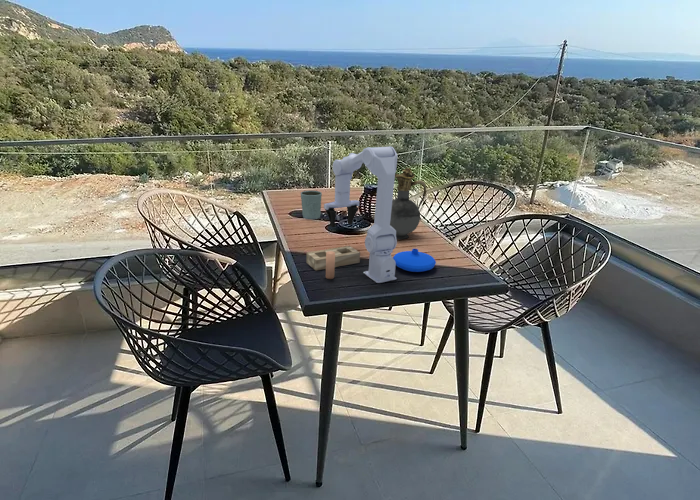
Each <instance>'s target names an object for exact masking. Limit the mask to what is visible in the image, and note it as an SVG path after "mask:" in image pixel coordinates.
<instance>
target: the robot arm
mask: <svg viewBox="0 0 700 500" xmlns="http://www.w3.org/2000/svg"><path fill="white" fill-rule="evenodd" d="M398 158H399V157H398V153H397V151H396V149H395V148H394V147H393V146H391V145H389V146H375V147H374V146H373V147H370V146H368V147H365V148H363V149H362V151H361V152H359V153H354V152H349V153H348V155H347V156H343V157H342V159H335V160H334V161H333V163H332V172H333V174H334V181H335V182H334V201H332V202H330V201H329V202H327V203H323V209H324V211H325V212H326V215H327V216H328V221H329V223H330V227H331V228H335V226H336V215H337V210H335V209H340V208H346V211H347V224H348V225H350V226H352V225H353V222H354V218H355V216H356V214H357V212H358V211H359V207H360V200H358V199H357V200H356V199H355V200H352V199H351V200H350V198H351V197H350V196H351V180H352V179H353V174H354V172H355V171H357V170H359V169H361V167H362V165H363V164H364V165H365V167H366V168H367V169H368V170H369V172H370V173H371V174H372V175H373V176H376V177H377V185H376V186H377V187H376V198H375V208H374V209H375V210H374V219H373V220H374V223H373V224H372V225H371V226H370V227H369V228H368V229H367V231H366V233H367V234H366V236H365V239H364V247H365V249H366V250H367V252H368V253H369V256H368V257H369V259H368V270H365V271H363V275H365V276H367V277H368V278H369V279H371V280H372V281H373V282H374V283H377V284H381V283H385V282H390V281H395V280H397V277H396V267H397V266H396V262H395V260H394V259H393V256H392V253H393V252H394V251H393V250H394V249H396V247H397V245H398V239H396V230H395V229H394V228H393V227H392V226H390V219H391V209H392V200H394V199H393V198H394V189H395V188H394V187H395V179H396V178H395V174H397V173H396V172H397V165H398Z"/></svg>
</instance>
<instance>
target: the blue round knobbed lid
mask: <svg viewBox="0 0 700 500" xmlns="http://www.w3.org/2000/svg"><path fill="white" fill-rule="evenodd" d="M392 258H393V259H394V260H395V262H396V266H395V267H397V268H400V269H402V270H403V271H406V272H413V273H421V272H422V273H423V272H427V271H430V270H433V268H435V266H436V263H437V261H436V259H435V258H434V257H433V256H432V255H430V254H428V253H426V252H422V251H419V249H418V248H412V249H411V250H405V251H399V252H397V253H395V254H394V255H393V256H392Z"/></svg>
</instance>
